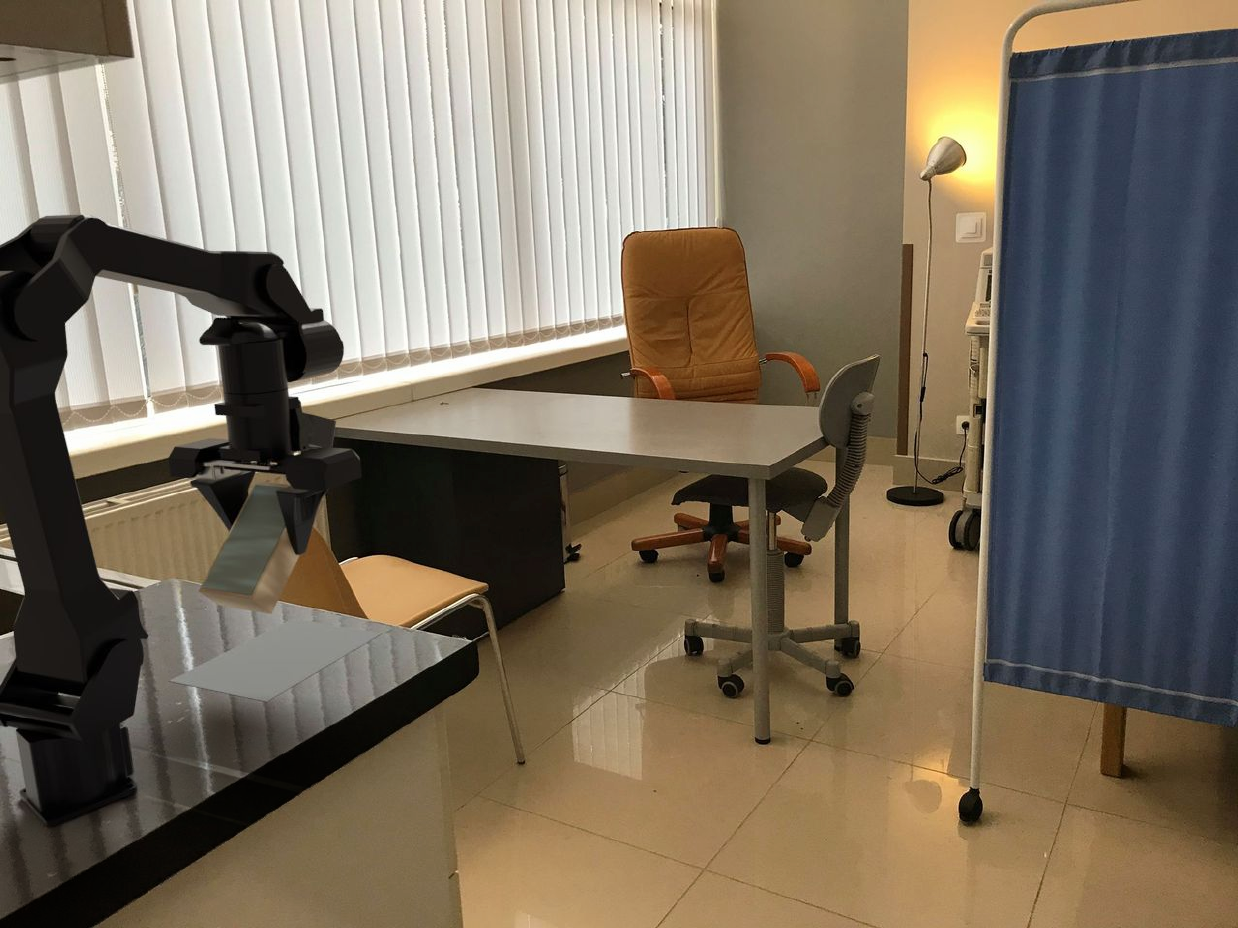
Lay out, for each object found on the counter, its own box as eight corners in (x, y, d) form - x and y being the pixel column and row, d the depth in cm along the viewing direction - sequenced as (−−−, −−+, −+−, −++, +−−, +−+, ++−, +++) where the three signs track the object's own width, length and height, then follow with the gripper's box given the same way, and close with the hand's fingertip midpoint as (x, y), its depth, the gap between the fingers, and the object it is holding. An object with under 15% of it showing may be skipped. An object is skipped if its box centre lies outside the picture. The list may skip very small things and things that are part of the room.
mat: (267, 705, 91) (266, 701, 90) (169, 684, 95) (169, 680, 95) (382, 636, 106) (382, 633, 106) (293, 621, 110) (292, 618, 110)
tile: (251, 599, 90) (307, 486, 96) (197, 590, 92) (254, 480, 98) (271, 613, 92) (324, 502, 98) (218, 605, 95) (272, 497, 101)
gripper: (390, 381, 96) (402, 536, 100) (242, 374, 104) (258, 519, 107) (313, 399, 86) (328, 570, 90) (155, 390, 94) (175, 549, 97)
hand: (272, 549), depth 96 cm, fingers closed on tile, 6 cm apart
